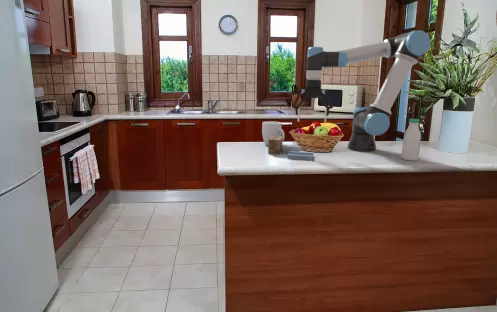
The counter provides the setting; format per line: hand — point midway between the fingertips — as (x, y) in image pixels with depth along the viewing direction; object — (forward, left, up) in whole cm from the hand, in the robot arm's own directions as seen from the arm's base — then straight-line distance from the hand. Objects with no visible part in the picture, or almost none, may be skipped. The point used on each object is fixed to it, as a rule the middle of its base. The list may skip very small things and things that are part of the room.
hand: (311, 122), depth 180 cm
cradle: (+4, +10, -17) cm, 20 cm away
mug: (+22, -18, -17) cm, 33 cm away
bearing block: (+18, 0, -17) cm, 25 cm away
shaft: (+13, 0, -17) cm, 21 cm away
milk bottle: (-49, -1, -17) cm, 52 cm away
